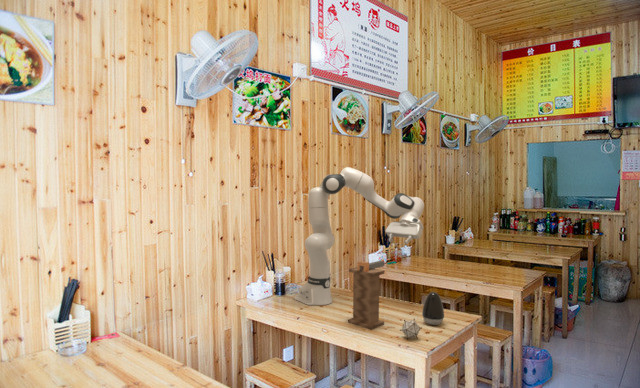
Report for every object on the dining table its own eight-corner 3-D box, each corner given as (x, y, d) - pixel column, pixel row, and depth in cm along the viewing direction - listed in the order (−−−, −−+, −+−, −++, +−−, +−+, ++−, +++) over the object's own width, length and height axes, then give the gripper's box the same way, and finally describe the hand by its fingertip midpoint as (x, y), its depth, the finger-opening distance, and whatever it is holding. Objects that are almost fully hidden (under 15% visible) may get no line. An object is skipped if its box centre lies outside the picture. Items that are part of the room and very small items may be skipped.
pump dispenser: (420, 325, 205) (421, 293, 204) (423, 318, 215) (424, 288, 214) (443, 328, 201) (443, 296, 201) (444, 321, 211) (445, 290, 210)
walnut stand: (347, 322, 207) (348, 269, 206) (360, 317, 215) (361, 265, 214) (371, 330, 198) (372, 273, 197) (383, 324, 205) (384, 270, 204)
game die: (414, 347, 188) (422, 334, 181) (395, 339, 189) (403, 326, 183) (418, 331, 194) (425, 318, 188) (400, 323, 196) (407, 310, 190)
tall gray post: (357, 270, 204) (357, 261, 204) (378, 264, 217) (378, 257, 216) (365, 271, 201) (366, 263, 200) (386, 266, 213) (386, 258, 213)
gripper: (389, 217, 241) (379, 236, 234) (422, 220, 227) (412, 240, 220) (393, 224, 244) (383, 243, 237) (426, 228, 230) (416, 248, 223)
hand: (397, 242), depth 228 cm, fingers open, 8 cm apart
